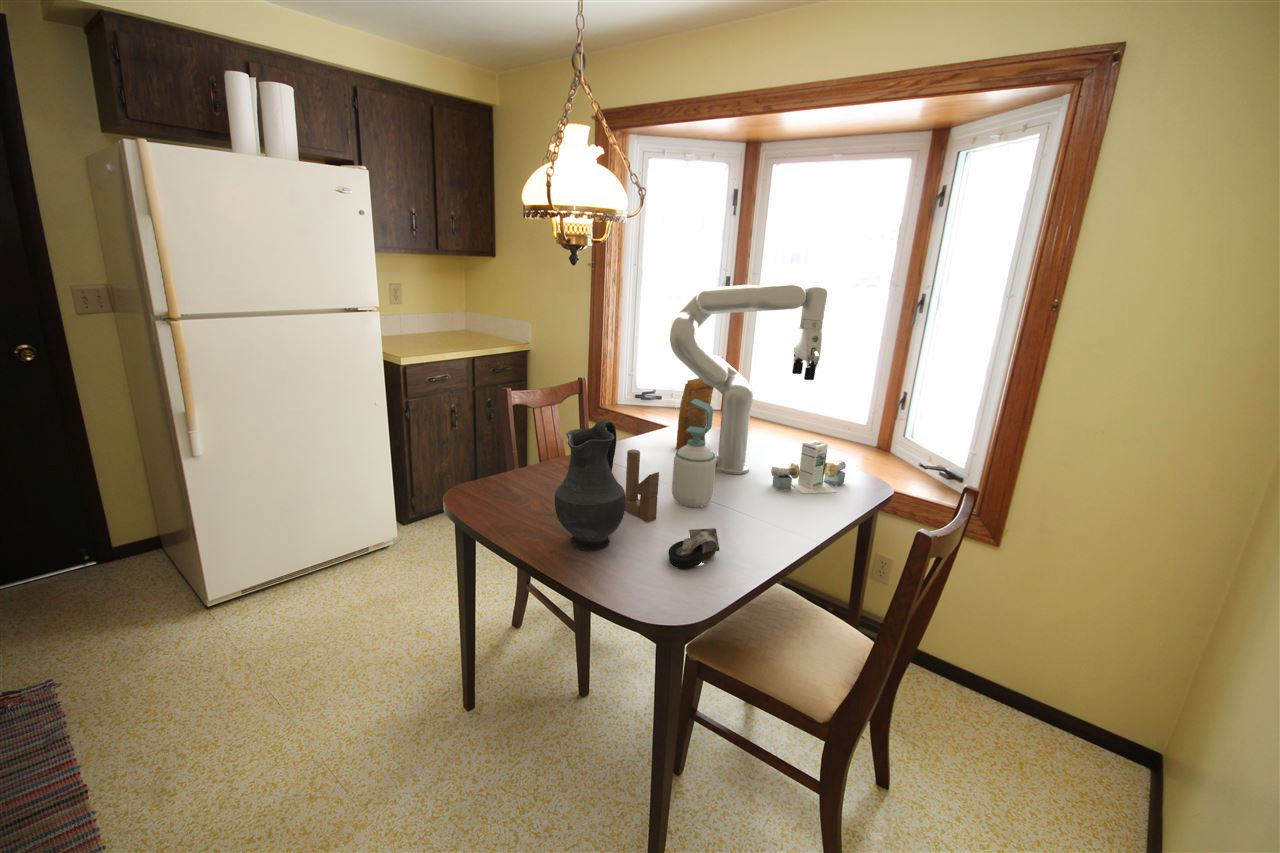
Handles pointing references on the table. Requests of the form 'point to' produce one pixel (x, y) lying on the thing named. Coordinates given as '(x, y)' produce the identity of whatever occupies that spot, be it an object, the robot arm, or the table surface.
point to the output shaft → (834, 473)
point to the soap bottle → (695, 466)
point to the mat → (805, 490)
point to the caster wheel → (694, 549)
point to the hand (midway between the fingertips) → (802, 376)
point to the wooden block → (640, 490)
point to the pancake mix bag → (692, 410)
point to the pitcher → (591, 488)
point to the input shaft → (784, 476)
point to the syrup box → (812, 464)
